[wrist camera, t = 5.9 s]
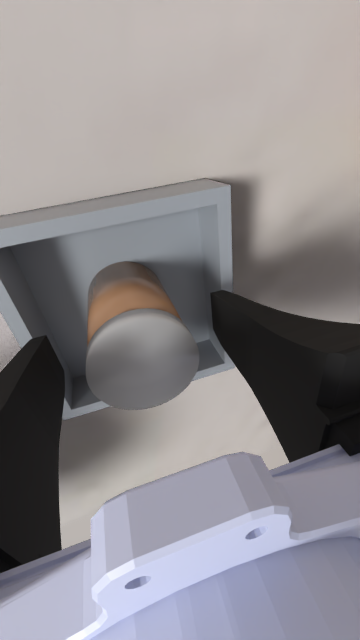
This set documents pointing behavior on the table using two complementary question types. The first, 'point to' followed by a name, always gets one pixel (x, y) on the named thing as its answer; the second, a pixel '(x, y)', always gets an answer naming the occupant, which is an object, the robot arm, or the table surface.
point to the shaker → (136, 340)
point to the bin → (111, 247)
